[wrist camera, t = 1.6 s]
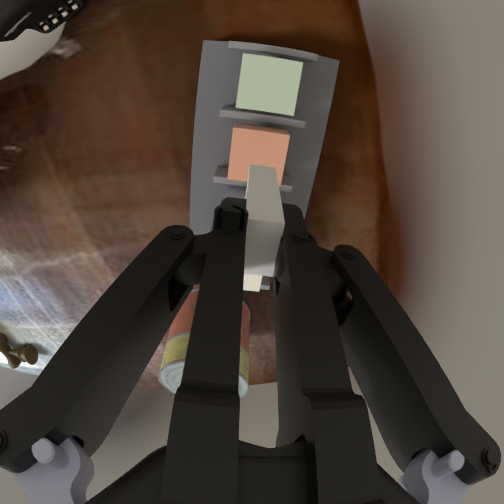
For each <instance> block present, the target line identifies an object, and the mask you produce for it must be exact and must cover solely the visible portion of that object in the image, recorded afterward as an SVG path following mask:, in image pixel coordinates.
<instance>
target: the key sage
mask: <svg viewBox="0 0 504 504" xmlns="http://www.w3.org/2000/svg"><path fill="white" fill-rule="evenodd" d="M302 67H303V62H298V61H293V60H287V59H281V58H275V57H269V56H261V55H253V54H244V53H243V57H242V64H241V71H240V78H239V86H238V93H237V101H236V108H242V109H250V110H258V111H265V112H272V113H278V114H285V115H290V116H294V112H295V106H296V101H297V95H298V89H299V84H300V78H301V72H302Z"/></svg>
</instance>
